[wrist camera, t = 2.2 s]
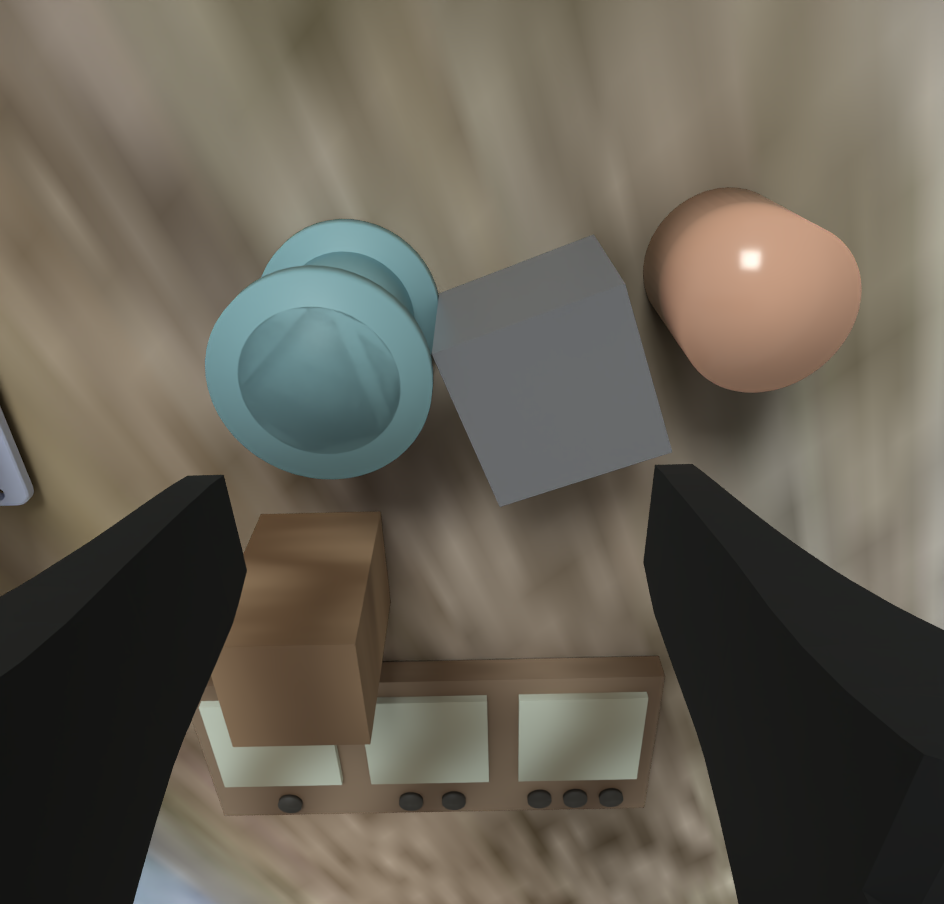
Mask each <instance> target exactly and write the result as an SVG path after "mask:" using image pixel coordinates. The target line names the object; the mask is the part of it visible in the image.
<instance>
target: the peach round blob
mask: <svg viewBox="0 0 944 904" xmlns="http://www.w3.org/2000/svg"><path fill="white" fill-rule="evenodd" d="M643 279H644V286H645V290H646V294H647V296H648V298H649V301H650V303H651V304H652V306H653V308H654V309H655V311H656V312H657V314H658V315H659V316H660V318H661V319H662V321H663V322H664V324H665V325H666V327H667V328H668V330H669V331H670V332H671V334H672V335H673V337H674V338H675V340H676V341H677V343H678V344H679V346H680V347H681V348H682V350H683V351H684V353H685V354H686V356H687V357H688V359H689V360H690V362H691V363H692V364H693V366H694V367H695V368H696V369H697V370H698V372H699V373H701V374H702V375H703V376H704V377H705V378H706V379H708V380H709V381H711V382H712V383H714V384H716V385H718V386H721V387H723V388H726V389H729V390H733V391H739V392H750V393H756V392H766V391H771V390H776V389H780V388H783V387H786V386H789V385H791V384H793V383H796V382H798V381H800V380H802V379H804V378H805V377H807V376H809V375H810V374H812V373H813V372H815V371H816V370H818V369H819V368H820V367H821V366H822V365H824V364H825V363H826V362H827V361H828V360H829V359H830V358H831V357H832V356H833V355H834V354H835V353H836V352H837V350H838V349H839V348H840V347H841V345H842V344H843V343H844V341H845V340H846V338H847V336H848V335H849V333H850V331H851V329H852V327H853V325H854V323H855V320H856V317H857V314H858V311H859V306H860V301H861V277H860V273H859V269H858V266H857V263H856V261H855V259H854V256H853V255H852V253H851V252H850V250H849V249H848V247H847V246H846V245H845V244H844V243H843V242H842V241H841V240H840V239H839V238H838V237H836V236H835V235H834V234H832V233H831V232H829V231H827V230H825V229H823V228H821V227H819V226H818V225H816V224H814V223H812V222H810V221H808V220H806V219H804V218H803V217H801V216H799V215H797V214H795V213H793V212H791V211H790V210H788V209H786V208H784V207H782V206H780V205H778V204H776V203H775V202H773V201H771V200H769V199H767V198H765V197H763V196H762V195H760V194H758V193H756V192H753V191H750V190H747V189H741V188H729V187H727V188H717V189H713V190H709V191H706V192H703V193H700V194H697V195H695V196H694V197H692V198H690V199H688V200H686V201H685V202H683V203H682V204H680V205H679V206H678V207H676V208H675V209H674V210H673V211H672V212H671V213H670V214H669V215H668V216H667V217H666V218H665V219H664V220H663V221H662V223H661V224H660V225H659V227H658V228H657V230H656V231H655V233H654V235H653V237H652V238H651V241H650V243H649V245H648V248H647V251H646V255H645V260H644V266H643Z"/></svg>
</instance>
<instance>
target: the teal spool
mask: <svg viewBox="0 0 944 904" xmlns="http://www.w3.org/2000/svg"><path fill="white" fill-rule="evenodd" d="M438 298H439V295H438V291H437V288H436V284H435V282H434V279H433V277H432V274H431V272H430V271H429V269H428V267H427V265H426V264H425V262H424V261H423V259H422V258H421V257H420V256H419V254H418V253H417V252H416V251H415V250H414V249H413V248H412V247H411V246H410V245H409V244H408V243H407V242H405V241H404V240H403V239H402V238H400V237H399V236H397V235H396V234H394V233H393V232H391V231H389V230H387V229H385V228H383V227H381V226H378V225H375V224H372V223H369V222H366V221H360V220H354V219H336V220H327V221H323V222H319V223H316V224H313V225H311V226H309V227H306V228H304V229H303V230H301V231H299V232H297V233H296V234H295V235H293V236H292V237H291V238H290V239H288V240H287V241H286V242H285V243H284V244H283V245H282V247H281V248H280V249H279V250H278V251H277V252H276V253H275V254H274V255H273V257H272V258H271V260H270V261H269V263H268V264H267V266H266V269H265V271H264V273H263V275H262V277H261V278H260V279H258V280H256V281H255V282H253V283H251V284H250V285H249V286H248V287H246V288H245V289H244V290H243V291H241V292H240V294H239V295H238V296H237V297H236V298H235V299H234V300H233V301H232V302H231V303H230V304H229V306H228V307H227V308H226V309H225V310H224V311H223V313H222V314H221V316H220V317H219V319H218V320H217V322H216V324H215V326H214V328H213V330H212V332H211V335H210V338H209V342H208V345H207V350H206V359H205V371H206V380H207V386H208V390H209V393H210V396H211V399H212V402H213V404H214V406H215V409H216V411H217V413H218V415H219V416H220V418H221V419H222V421H223V423H224V424H225V426H226V427H227V428H228V430H229V431H230V432H231V433H232V434H233V436H234V437H235V438H236V439H237V440H238V441H239V442H240V443H241V444H242V445H243V446H244V447H246V448H247V449H248V450H249V451H251V452H252V453H253V454H255V455H256V456H257V457H259V458H261V459H262V460H264V461H265V462H267V463H269V464H271V465H273V466H275V467H277V468H279V469H282V470H284V471H287V472H290V473H293V474H296V475H301V476H305V477H310V478H317V479H344V478H351V477H356V476H361V475H364V474H367V473H370V472H373V471H375V470H377V469H380V468H382V467H384V466H386V465H387V464H389V463H390V462H392V461H393V460H395V459H396V458H398V457H399V456H400V455H401V454H402V453H403V452H405V451H406V450H407V449H408V447H409V446H410V445H411V444H412V443H413V442H414V441H415V439H416V437H417V436H418V434H419V433H420V431H421V430H422V427H423V425H424V423H425V421H426V419H427V415H428V412H429V409H430V404H431V397H432V389H433V365H432V358H431V353H432V348H433V339H434V331H435V323H436V314H437V306H438Z"/></svg>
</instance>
